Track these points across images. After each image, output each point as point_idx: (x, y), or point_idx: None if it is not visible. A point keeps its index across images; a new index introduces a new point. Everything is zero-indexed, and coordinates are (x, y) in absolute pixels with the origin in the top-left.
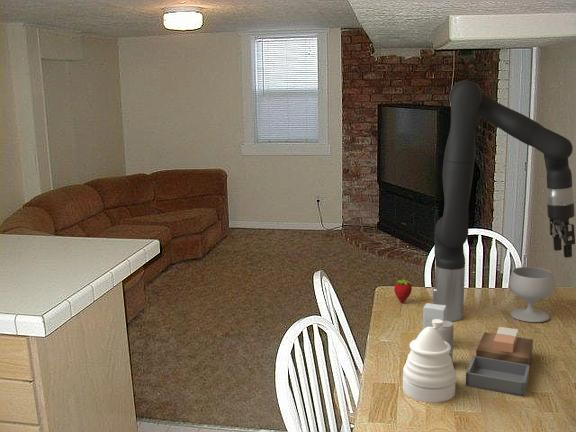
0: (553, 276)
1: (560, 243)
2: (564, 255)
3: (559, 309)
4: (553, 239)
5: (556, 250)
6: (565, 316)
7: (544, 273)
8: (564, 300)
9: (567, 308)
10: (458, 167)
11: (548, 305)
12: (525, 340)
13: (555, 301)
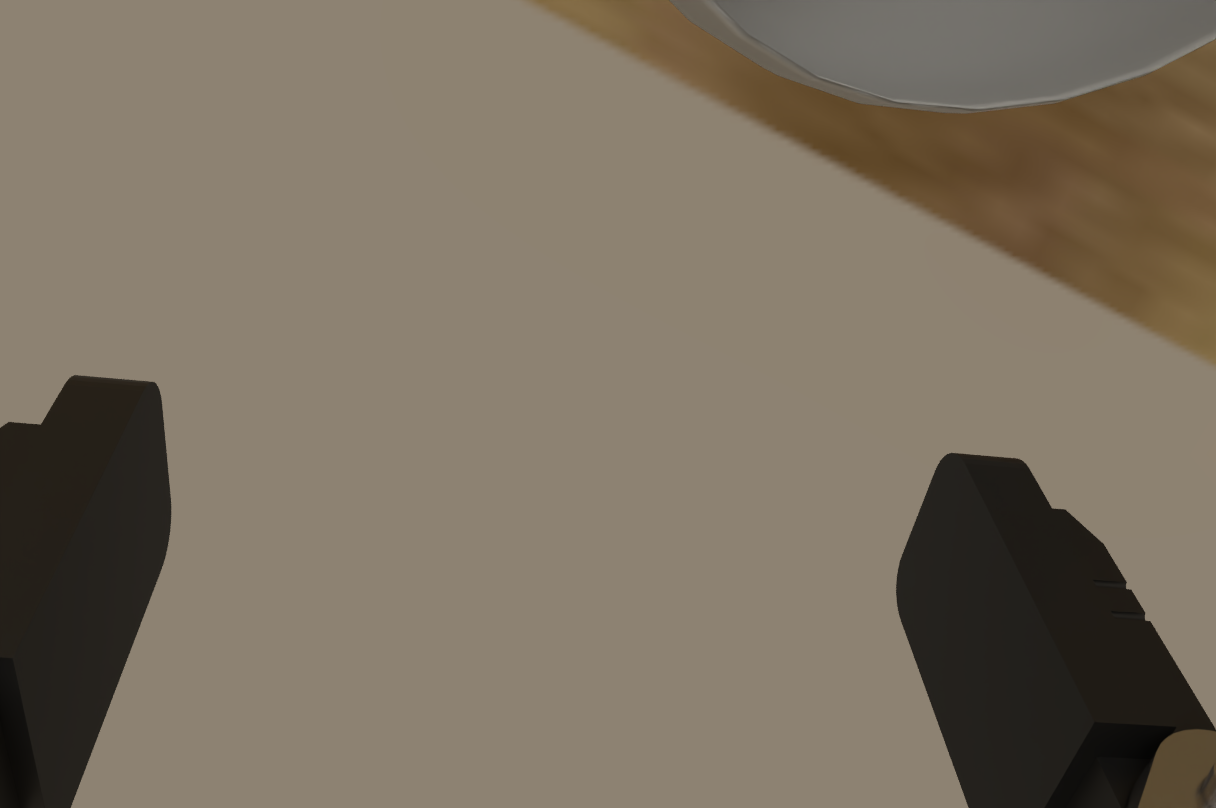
0: (784, 74)
1: (954, 726)
2: (73, 396)
3: None
4: (1145, 713)
5: (935, 482)
6: None
7: (1130, 51)
8: (1153, 257)
9: (943, 177)
10: None
11: None
12: None
13: (1173, 161)
